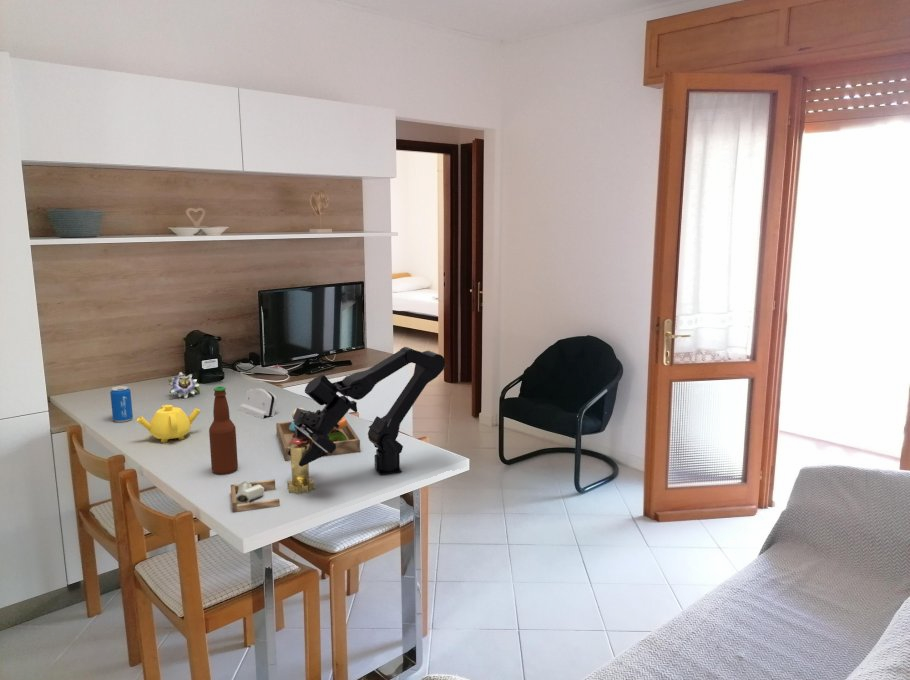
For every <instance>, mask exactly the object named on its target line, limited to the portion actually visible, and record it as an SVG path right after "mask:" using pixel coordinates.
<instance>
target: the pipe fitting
mask: <svg viewBox="0 0 910 680" xmlns="http://www.w3.org/2000/svg"><path fill="white" fill-rule="evenodd" d="M238 484H239V485H238V492H237V494H236V501H237V504H244V503H250V501H253V500H255V499H258V498H261V497H262V496H263V495H264V494H265V493H264V492H265V491H264V487H262V486H261V485H260V484H257V485H255V486H252V484H250V482H249V481H246V480H245V481H243V482H240V483H238ZM263 497H264V496H263Z"/></svg>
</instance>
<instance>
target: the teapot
mask: <svg viewBox="0 0 910 680" xmlns="http://www.w3.org/2000/svg"><path fill="white" fill-rule="evenodd" d="M200 413H201V410H200V409H199V408H197V407H195V408H194V409H193V411H192V412H191V413H190V415H189V417H188V415H187V414H186V413H185V411H184V410H183V409H182V408H180V407H175V406H173V405H172V404H163V405H161V406H160V409H157V410H156V411H155V413H154V415H153V417H152V418H151V421H150V422H149V421H147V420H146V419H145V417H143V416H142V415H141V416H139V417H137V419H136V422H137V423H139V424H140V425H141V426H143V428H145V429H146V430H147V431H149V434H150V435H151V436H152V437H154V438H156V439H158V440H160V443H163V444H164V443H168V442H169V440H172V439H177V440H185V438H186V437H185V436H186V435H187V434H188V433H189V432H190V430H191V428H192V423H193V422H194V421H195V420H196V418H197V417H198V416H199V414H200Z"/></svg>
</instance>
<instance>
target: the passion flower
mask: <svg viewBox="0 0 910 680" xmlns="http://www.w3.org/2000/svg"><path fill="white" fill-rule="evenodd" d="M192 377H193V374H191V373H190V374H188V375H185V374H184V373H183V372H182V371H179V373H178V374H177V375H176V376H175V377H170V378H169V379H168V381H167V382H169V383H168V385H170V386H171V387H173V388H171V389H170V390H169V394H173V393H176V395H177V397H178V398H181V397H183V399H185V400H186V399H188V396H189V394H191V395H195V392H197V393H198V394H200V393H201V389H200V388H199V387H200V386H201V385H200V384H199V383H198V382H197V380H198V379H196V378H195V379H193V378H192Z"/></svg>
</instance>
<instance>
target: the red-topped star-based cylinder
mask: <svg viewBox="0 0 910 680" xmlns="http://www.w3.org/2000/svg"><path fill="white" fill-rule="evenodd" d="M291 444H292V445H291V446H290V449H291V461H290V467H291V480H289V481H287V482H286V483H287V489H288V493H289V494H291V493H295V494H296V495H300V494H309V493H310V491H312V490H315V481H313V477H310V466H309V463H308V464H306V465H304V466H302V467H301V466H300V465H299V462H300V461H301V459H302V457H303V456H304V454H305V453H306V451H307V450H308V444H307V438H306V437H295V438H292V439H291Z"/></svg>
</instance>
